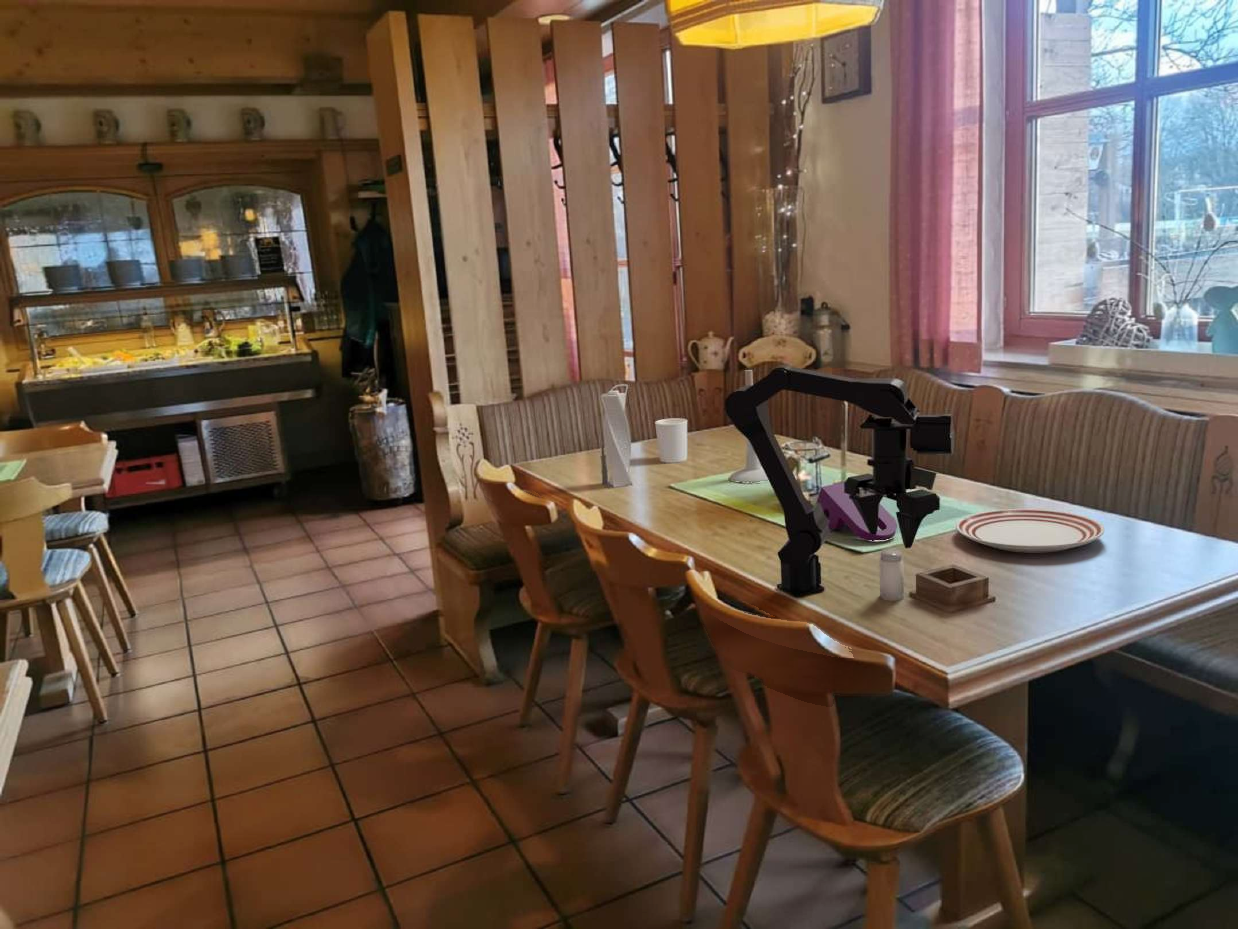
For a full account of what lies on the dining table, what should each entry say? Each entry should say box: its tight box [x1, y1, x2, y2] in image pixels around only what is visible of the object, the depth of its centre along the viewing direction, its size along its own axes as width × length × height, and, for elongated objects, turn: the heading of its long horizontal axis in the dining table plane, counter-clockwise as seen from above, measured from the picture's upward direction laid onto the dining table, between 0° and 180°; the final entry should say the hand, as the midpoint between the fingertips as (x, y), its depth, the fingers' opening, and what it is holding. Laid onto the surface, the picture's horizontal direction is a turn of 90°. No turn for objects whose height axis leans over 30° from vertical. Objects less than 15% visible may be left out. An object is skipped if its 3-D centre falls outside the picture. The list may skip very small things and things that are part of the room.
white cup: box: [654, 417, 688, 464], centre depth 285 cm, size 10×10×12 cm
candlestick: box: [729, 368, 768, 483], centre depth 254 cm, size 13×13×30 cm
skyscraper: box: [600, 383, 634, 489], centre depth 258 cm, size 8×8×28 cm
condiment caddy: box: [908, 563, 997, 613], centre depth 163 cm, size 10×10×4 cm
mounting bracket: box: [815, 481, 898, 541], centre depth 204 cm, size 9×8×18 cm
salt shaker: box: [879, 549, 905, 602], centre depth 165 cm, size 4×4×8 cm
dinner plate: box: [955, 508, 1105, 554], centre depth 190 cm, size 28×27×3 cm
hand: (890, 541), depth 164 cm, fingers open, 9 cm apart
